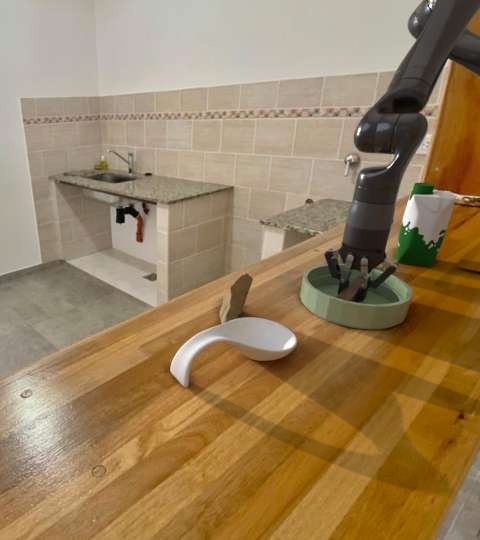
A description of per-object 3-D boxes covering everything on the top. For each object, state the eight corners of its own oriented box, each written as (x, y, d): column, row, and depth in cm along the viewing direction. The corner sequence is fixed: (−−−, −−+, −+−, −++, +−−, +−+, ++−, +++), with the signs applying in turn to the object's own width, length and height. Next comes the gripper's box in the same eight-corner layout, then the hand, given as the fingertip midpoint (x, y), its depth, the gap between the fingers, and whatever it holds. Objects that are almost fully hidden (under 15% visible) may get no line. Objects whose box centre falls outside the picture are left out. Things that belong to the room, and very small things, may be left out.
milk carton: (392, 252, 106) (411, 180, 98) (433, 257, 102) (456, 182, 93) (393, 263, 100) (413, 187, 91) (436, 269, 95) (462, 190, 87)
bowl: (416, 303, 81) (423, 280, 79) (389, 343, 70) (396, 317, 67) (320, 277, 95) (324, 257, 92) (284, 307, 83) (287, 284, 80)
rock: (243, 333, 71) (272, 307, 76) (219, 293, 71) (249, 270, 76) (207, 340, 80) (235, 317, 85) (185, 305, 80) (214, 284, 86)
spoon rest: (259, 326, 77) (263, 294, 74) (309, 357, 67) (316, 323, 64) (159, 363, 68) (158, 329, 65) (199, 406, 58) (201, 368, 55)
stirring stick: (344, 315, 77) (347, 302, 75) (331, 311, 78) (334, 298, 77) (367, 290, 85) (370, 278, 84) (355, 287, 87) (358, 275, 86)
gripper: (323, 220, 77) (310, 295, 84) (405, 234, 67) (382, 318, 75) (337, 211, 81) (323, 283, 89) (416, 224, 72) (393, 303, 79)
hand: (350, 299), depth 82 cm, fingers closed on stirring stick, 2 cm apart
